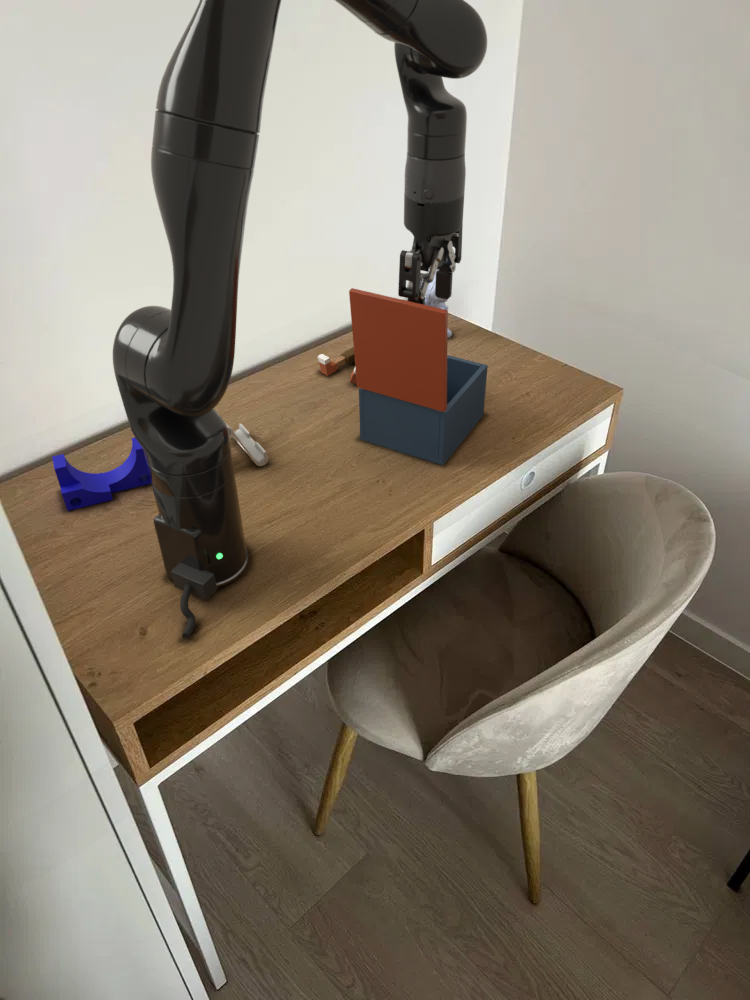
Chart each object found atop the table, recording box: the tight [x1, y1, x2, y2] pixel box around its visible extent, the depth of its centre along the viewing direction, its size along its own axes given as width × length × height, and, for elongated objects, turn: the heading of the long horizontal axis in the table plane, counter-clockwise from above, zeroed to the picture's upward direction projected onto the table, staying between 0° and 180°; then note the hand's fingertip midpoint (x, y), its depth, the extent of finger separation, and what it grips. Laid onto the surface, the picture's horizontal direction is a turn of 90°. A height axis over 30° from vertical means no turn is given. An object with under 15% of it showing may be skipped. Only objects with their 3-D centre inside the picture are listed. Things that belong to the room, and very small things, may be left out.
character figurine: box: [316, 346, 357, 385], centre depth 138 cm, size 12×5×18 cm
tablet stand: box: [224, 420, 269, 467], centre depth 115 cm, size 9×8×8 cm
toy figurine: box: [420, 269, 453, 339], centre depth 141 cm, size 7×6×12 cm
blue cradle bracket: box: [51, 437, 152, 512], centre depth 110 cm, size 12×4×6 cm, turn 113°
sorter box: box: [358, 354, 489, 466], centre depth 120 cm, size 15×14×9 cm
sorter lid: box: [348, 287, 449, 412], centre depth 107 cm, size 15×14×1 cm
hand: (429, 309), depth 112 cm, fingers open, 8 cm apart
